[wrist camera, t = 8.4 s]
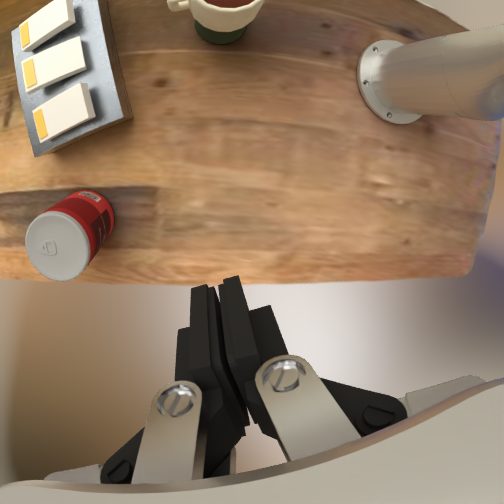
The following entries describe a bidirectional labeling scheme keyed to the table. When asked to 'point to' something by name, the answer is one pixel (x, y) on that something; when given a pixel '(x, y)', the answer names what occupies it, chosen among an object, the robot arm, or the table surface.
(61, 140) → the console
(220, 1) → the character mug
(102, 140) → the table surface
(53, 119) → the rocker
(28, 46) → the rocker
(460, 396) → the robot arm
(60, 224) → the canned food
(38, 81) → the rocker
